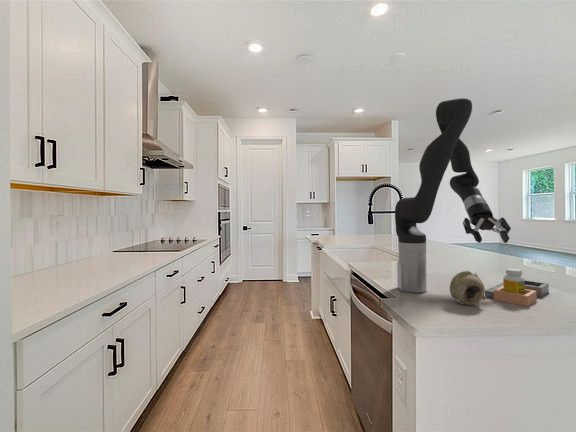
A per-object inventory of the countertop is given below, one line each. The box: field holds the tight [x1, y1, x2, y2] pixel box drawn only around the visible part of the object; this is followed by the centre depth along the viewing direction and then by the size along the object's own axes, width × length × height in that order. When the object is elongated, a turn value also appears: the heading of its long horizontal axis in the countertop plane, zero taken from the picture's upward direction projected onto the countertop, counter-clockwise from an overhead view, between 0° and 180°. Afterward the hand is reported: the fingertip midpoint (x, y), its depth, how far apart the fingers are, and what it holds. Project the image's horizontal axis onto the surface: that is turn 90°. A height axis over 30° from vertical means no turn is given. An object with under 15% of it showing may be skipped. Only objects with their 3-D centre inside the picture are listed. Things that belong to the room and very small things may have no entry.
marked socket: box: [493, 286, 537, 307], centre depth 92 cm, size 9×9×3 cm
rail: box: [484, 279, 550, 299], centre depth 98 cm, size 21×12×3 cm, turn 127°
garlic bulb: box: [449, 270, 487, 307], centre depth 90 cm, size 9×8×10 cm
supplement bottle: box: [502, 268, 526, 295], centre depth 92 cm, size 5×5×10 cm
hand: (493, 241), depth 104 cm, fingers open, 8 cm apart
